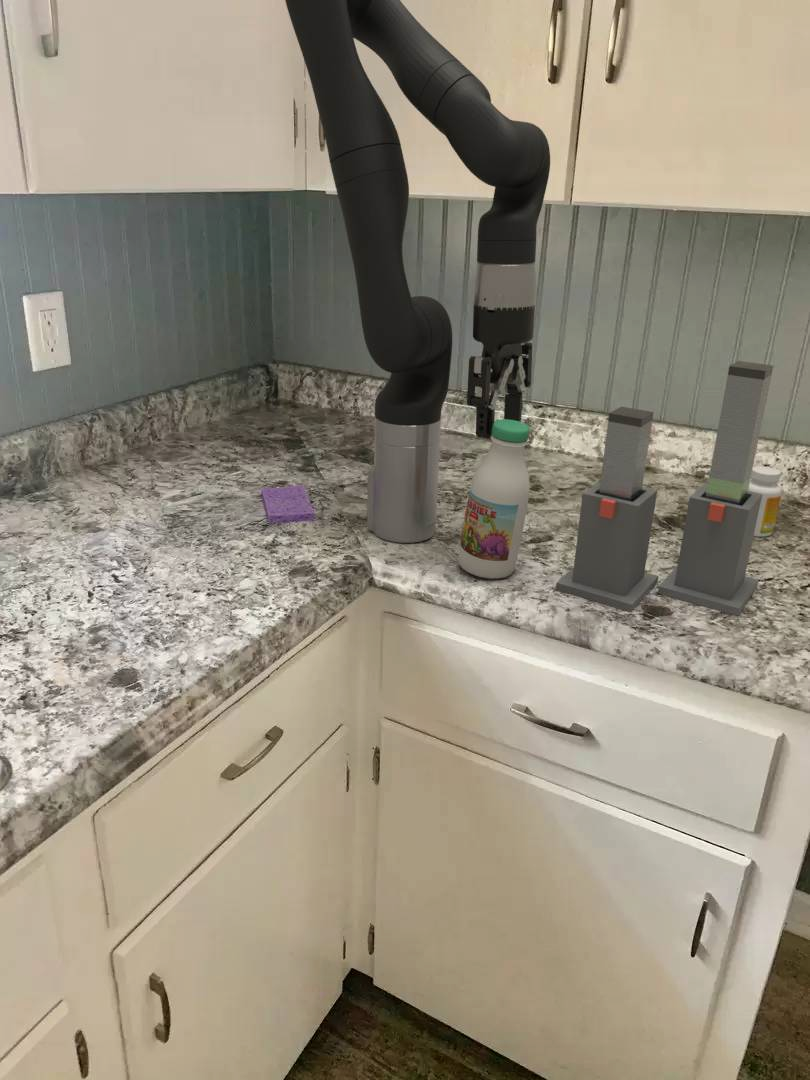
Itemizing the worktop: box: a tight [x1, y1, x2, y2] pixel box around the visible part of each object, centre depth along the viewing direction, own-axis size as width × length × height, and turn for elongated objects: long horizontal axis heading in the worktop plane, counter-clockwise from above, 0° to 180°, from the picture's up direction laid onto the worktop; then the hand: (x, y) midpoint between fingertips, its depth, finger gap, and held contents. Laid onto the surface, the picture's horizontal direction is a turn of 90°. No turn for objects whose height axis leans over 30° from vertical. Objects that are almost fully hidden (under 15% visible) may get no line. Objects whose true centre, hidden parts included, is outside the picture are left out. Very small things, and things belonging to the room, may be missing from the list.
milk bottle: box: [457, 418, 531, 580], centre depth 108 cm, size 8×8×20 cm
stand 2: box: [657, 481, 762, 616], centre depth 106 cm, size 10×10×13 cm
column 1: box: [599, 406, 654, 502], centre depth 104 cm, size 4×4×22 cm
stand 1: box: [555, 481, 660, 613], centre depth 106 cm, size 10×10×13 cm
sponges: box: [261, 484, 315, 524], centre depth 131 cm, size 7×13×2 cm, turn 14°
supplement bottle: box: [748, 465, 783, 538], centre depth 126 cm, size 5×5×10 cm
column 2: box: [705, 360, 774, 506], centre depth 101 cm, size 4×4×22 cm
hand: (498, 429), depth 109 cm, fingers open, 8 cm apart
